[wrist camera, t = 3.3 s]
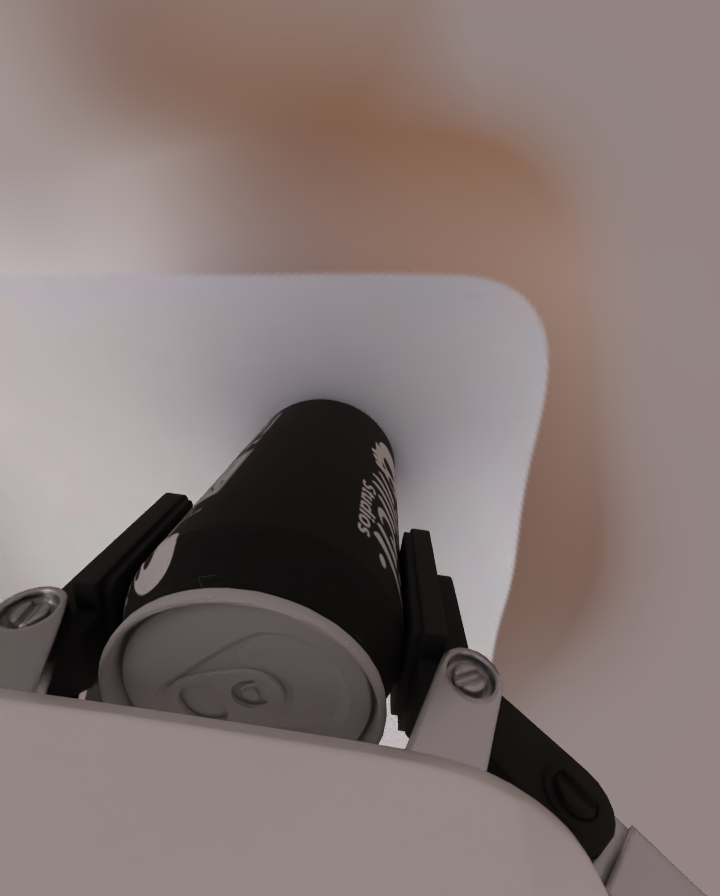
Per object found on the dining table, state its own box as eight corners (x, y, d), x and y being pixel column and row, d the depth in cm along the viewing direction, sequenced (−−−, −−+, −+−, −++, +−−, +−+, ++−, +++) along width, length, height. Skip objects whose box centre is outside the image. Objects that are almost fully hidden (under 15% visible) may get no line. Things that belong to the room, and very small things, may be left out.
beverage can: (411, 498, 19) (448, 784, 8) (292, 531, 20) (181, 820, 9) (367, 374, 17) (335, 535, 6) (237, 420, 18) (2, 625, 7)
